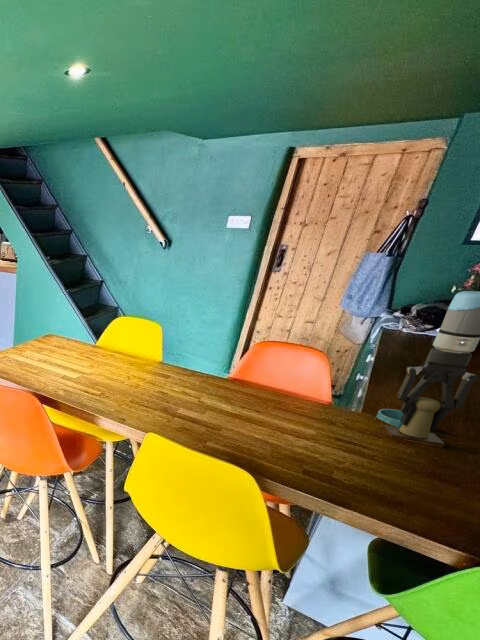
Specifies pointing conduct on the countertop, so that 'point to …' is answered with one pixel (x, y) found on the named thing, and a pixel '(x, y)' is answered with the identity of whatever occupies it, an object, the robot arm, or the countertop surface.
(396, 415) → the bowl
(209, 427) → the countertop surface
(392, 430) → the board
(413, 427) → the cork
